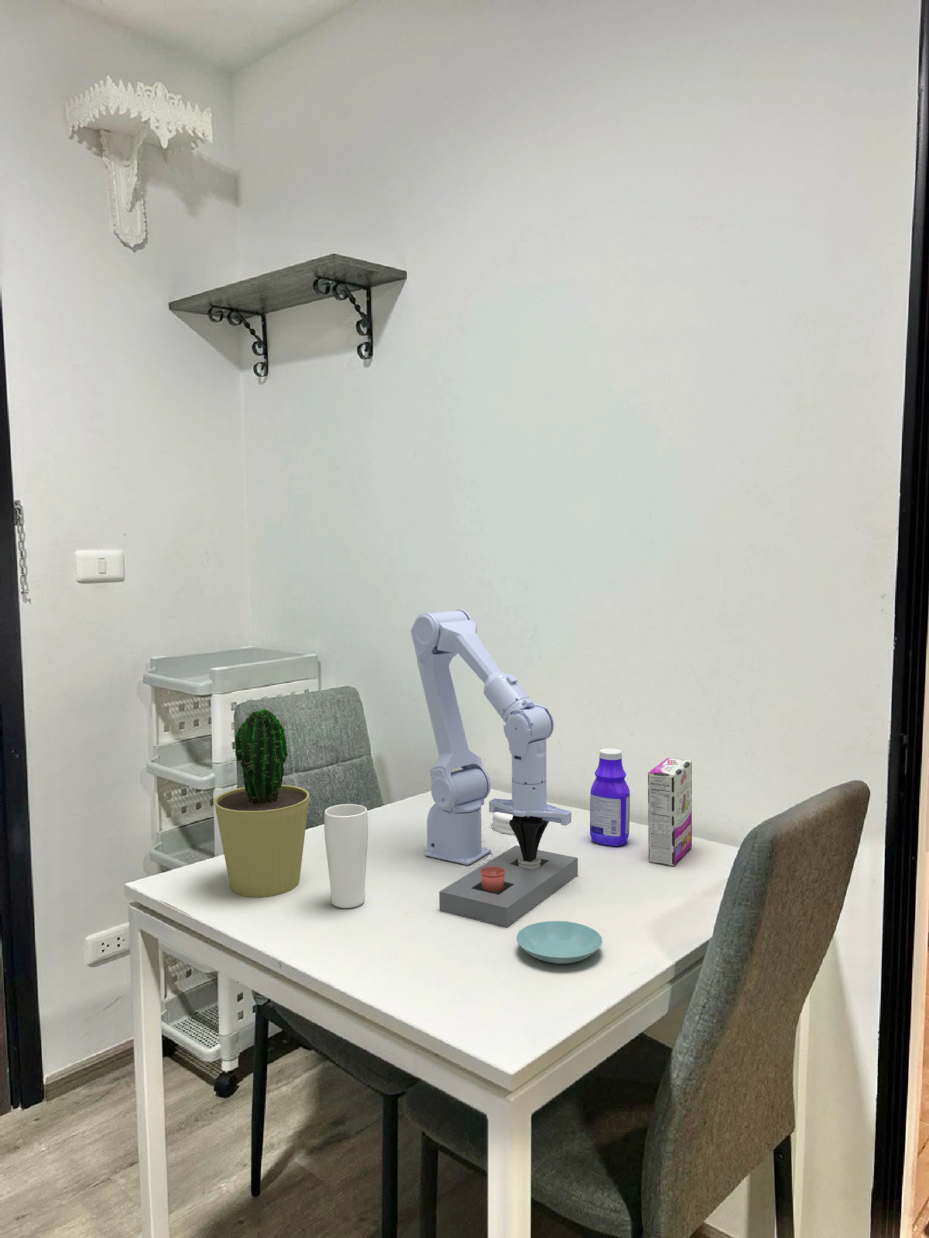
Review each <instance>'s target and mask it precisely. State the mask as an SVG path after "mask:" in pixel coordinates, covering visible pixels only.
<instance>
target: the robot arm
mask: <svg viewBox="0 0 929 1238" xmlns="http://www.w3.org/2000/svg"><path fill="white" fill-rule="evenodd" d="M477 630H478V627H477V623H476V622H475V621H474V620H473V619H472V617H471V615H470V613H468V611H466V610H465V609H461V608H460V609H455V610H449V611H438V612H437V611H436V612H422V613H420V614H419V615H417V617H416V618H415V620H414V623H413V624H412V626H411V629H410V633H411V638H412V643H413V646H414V650H415V655H416V659H417V660H416V661H417V667H418V671H419V675H420V679H421V684H422V688H423V692H424V693H423V694H424V696H425V701H426V707H427V709H428V714H429V717H430V722H431V726H432V731H433V735H434V739H435V744H436V748H437V752H438V758H437V759H436V761H435V762H434V763H433V765H432V766H431V768H430V770H429V773H430V777H431V785H430V793H431V797H432V800H433V802H434V804H433V805H432V806H431V807H430V809H429V811H428V815H427V818H426V836H427V837H426V839H427V840H426V843H427V844H426V847H427V848H426V849H427V850H426V852H425V853H424V856H427V857H430V858H435V859H438V860H442V861H443V860H444V861H449V862H453V863H456V864H457V863H458V864H463V865H467V866H469V865H471V864H473V863H475V862H476V861H479V860H480V859H482V858H484V857H485V856H486V855H488V854H490V853H491V852H492V849H491V848H488V847H483V846H482V840H483V839H482V806H484V805H485V799H486V798H488V796H490V795H489V794H490V792H491V779H490V777H489V775H488V772H487V771H486V770H485V768H484V765H483V762H482V758H481V757H480V756H479V755H478V754H476V753H474V752H472V750H470V749H469V745H468V741H467V738H466V737H467V736H466V733H465V728H464V724H463V720H462V716H461V711H460V709H459V708H460V707H459V703H458V700H457V695H456V691H455V686H454V682H453V678H452V675H451V670H450V664H451V662H452V660H453V658H454V657H456V656H457V654H458V655H459V656H460V657H461V659H462V660H464V662H465V663H466V664H467V665H468V667H470V669H471V670H472V671H473V672H474V673H475V675H476V676H477V677H478V678H479V679H480V680H481V681H482V682H483V684H484V686H483V695H484V696H485V698H486V699H487V700H488V702H489V703H490V704H491V706H492V707H493V708H494V710H495V711H496V713H497V714H498V715H499V716H500V718H501V719H502V721H503V722H504V723H505V724H504V725H502V727H503V732H504V735H505V738H506V740H507V741H508V742H507V743H508V750H509V752H510V754H511V799H507V798H505V799H504V798H495V797H494V798H492V799H490V800H488V812H489V813H495V812H500V813H506V814H511V815H513V817H512V820H510V821H509V824H510V827H511V828H512V830H513V832H514V833H515V835H514V836H515V837H516V841H517V843H518V846H520V849H521V853H522V857H523V861H527V862H531V861H533V860H534V859H536V855H537V850H539V846H540V843H541V840H542V837H543V835H544V832H545V830H546V829H547V826H548V825H549V823H550V822H552V823H557V824H560V825H561V826H565V827H566V826H568V825H570V824H572V811H571V810H568V809H563V808H561V807H557V806H554V805H552V804H548V803H547V798H548V797H547V795H548V794H547V793H548V792H547V739H549V738H550V737H551V736H552V734H553V732H554V729H555V728H554V727H555V723H554V718H553V715H552V714H551V713H550V711H549V708H548V707H546V706H544V705H542V704H538V703H537V702H536V701H533V700H532V699H531V698H530V697H529V696H528V694H527V693H526V692H525V690H524V688H522V687H521V685H520V684H519V683H518V678H517V677H516V676H515V675H512V674H511V673H510V672H502V671H501V670H500V668H499V667H498V665H497V663H496V662H495V661H494V659H493V657H492V656H491V654H490V652H489V651H488V650H487V648H486V647H485V645H484V644H483V642H482V641H481V639H480V638H479V636H478V634H477V633H478V632H477ZM458 768H461V769H459V770H455V769H458ZM453 770H454V771H453Z"/></svg>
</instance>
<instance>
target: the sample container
mask: <svg viewBox="0 0 929 1238" xmlns="http://www.w3.org/2000/svg"><path fill="white" fill-rule="evenodd" d="M518 863H519V866H520V867H525V868H529V869H534V870H536V869H538V868H539V867H540V863H541V859H540V858H539V857H537V856H536V859H534V860H533V861H531V862H527V861H523V857H522V856H521V857H519V858H518Z"/></svg>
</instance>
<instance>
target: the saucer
mask: <svg viewBox="0 0 929 1238" xmlns="http://www.w3.org/2000/svg"><path fill="white" fill-rule="evenodd" d="M516 942H517V943H518V945H519V946H520V947H521V949H523V950H524V951H525V952H526V953H528V954H529V955H530V956H532V957H533V958H535V959H537V960H540V961H542V962H544V963H545V962H546V963H549V964H554V965H556V964H557V965H568V964H573V963H578V962H580V961H583V960H586V959H587V958H588V957H590V956H592V955H593V954H594V953H595V952H597V951H598V950H599V948H600V947H601V946H602V945H603V938H602V935H601V934H600V933H599V932H598V931H597V930H596V929H594V928H591V927H590V926H588V925H584V924H582V923H577V922H572V921H566V920H565V921H563V920H549V921H548V920H547V921H540V922H534V923H532V924H528V925H526V926H525V927H523V928H521V929H520V930H519V931H518V933H517V934H516Z"/></svg>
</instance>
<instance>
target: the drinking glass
mask: <svg viewBox="0 0 929 1238" xmlns="http://www.w3.org/2000/svg"><path fill="white" fill-rule="evenodd" d="M323 818H324V819H323V820H324V821H323V822H324V823H323V824H324V825H323V827H324V828H323V829H324V840H325V843H324V844H325V849H326V850H325V851H326V852H325V853H326V859H327V868H328V869H327V871H328V877H329V879H328V880H329V886H330V887H329V888H330V901H331V904H332V905H333V906H334V907H337V908H339V909H340V908H341V909H352V908H356V907H360V906H361V905H363V904H364V903H365V899H366V874H367V860H368V858H367V857H368V844H369V843H368V841H369V818H368V808H367V807H366V806H364V805H360V804H355V803H345V804H344V803H343V804H336V805H332V806H329V807H327V808H325V810H324V817H323Z"/></svg>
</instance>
